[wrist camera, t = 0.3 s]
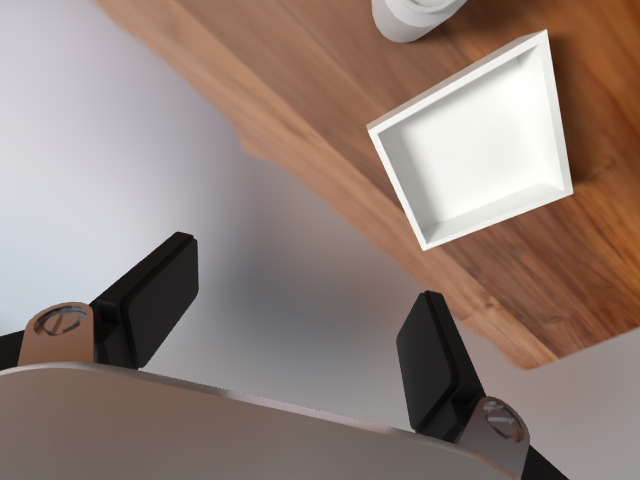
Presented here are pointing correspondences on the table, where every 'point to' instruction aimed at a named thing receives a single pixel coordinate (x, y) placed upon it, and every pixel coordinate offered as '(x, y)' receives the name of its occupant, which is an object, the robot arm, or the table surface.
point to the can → (411, 17)
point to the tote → (478, 144)
